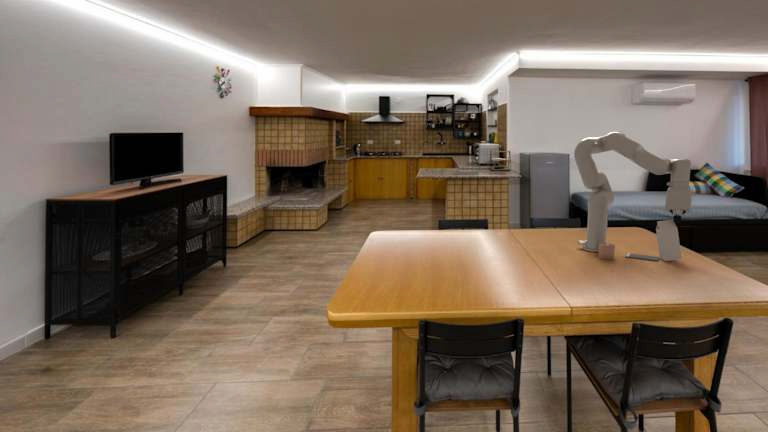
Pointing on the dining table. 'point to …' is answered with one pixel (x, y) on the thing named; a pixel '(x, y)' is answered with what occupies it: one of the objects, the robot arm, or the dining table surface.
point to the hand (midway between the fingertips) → (677, 223)
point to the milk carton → (668, 240)
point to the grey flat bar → (642, 257)
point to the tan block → (606, 251)
